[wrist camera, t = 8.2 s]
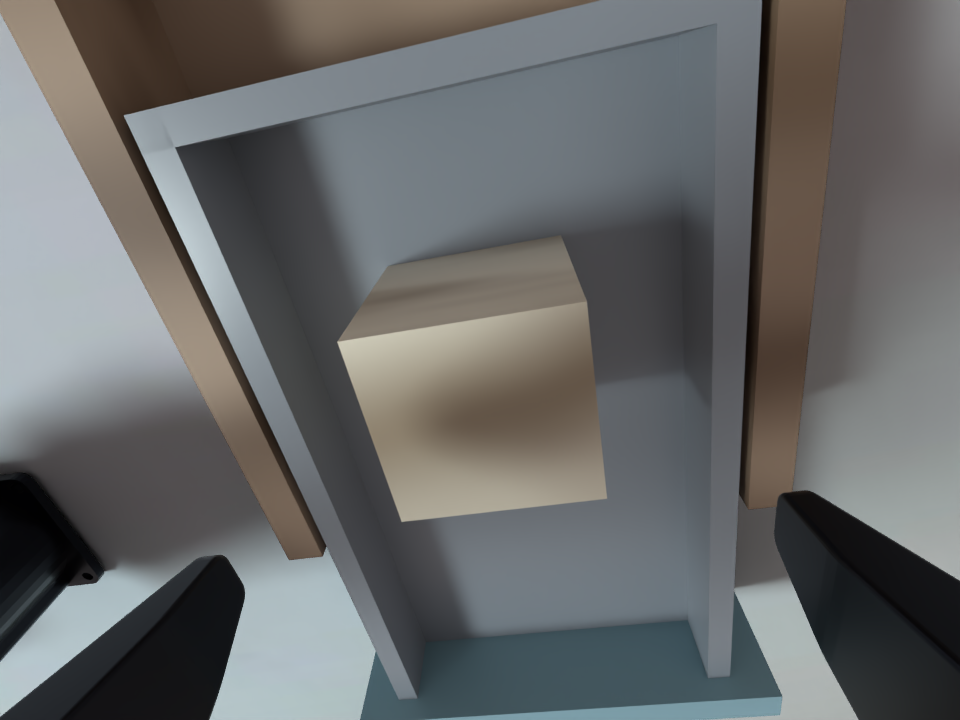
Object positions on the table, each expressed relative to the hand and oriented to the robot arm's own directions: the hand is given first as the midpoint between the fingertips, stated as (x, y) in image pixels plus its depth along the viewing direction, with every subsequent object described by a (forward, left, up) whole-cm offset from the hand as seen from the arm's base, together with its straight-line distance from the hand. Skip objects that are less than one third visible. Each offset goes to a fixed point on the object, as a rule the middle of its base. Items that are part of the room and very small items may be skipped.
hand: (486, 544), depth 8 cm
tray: (-4, 0, -10) cm, 11 cm away
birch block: (0, 0, -8) cm, 8 cm away
